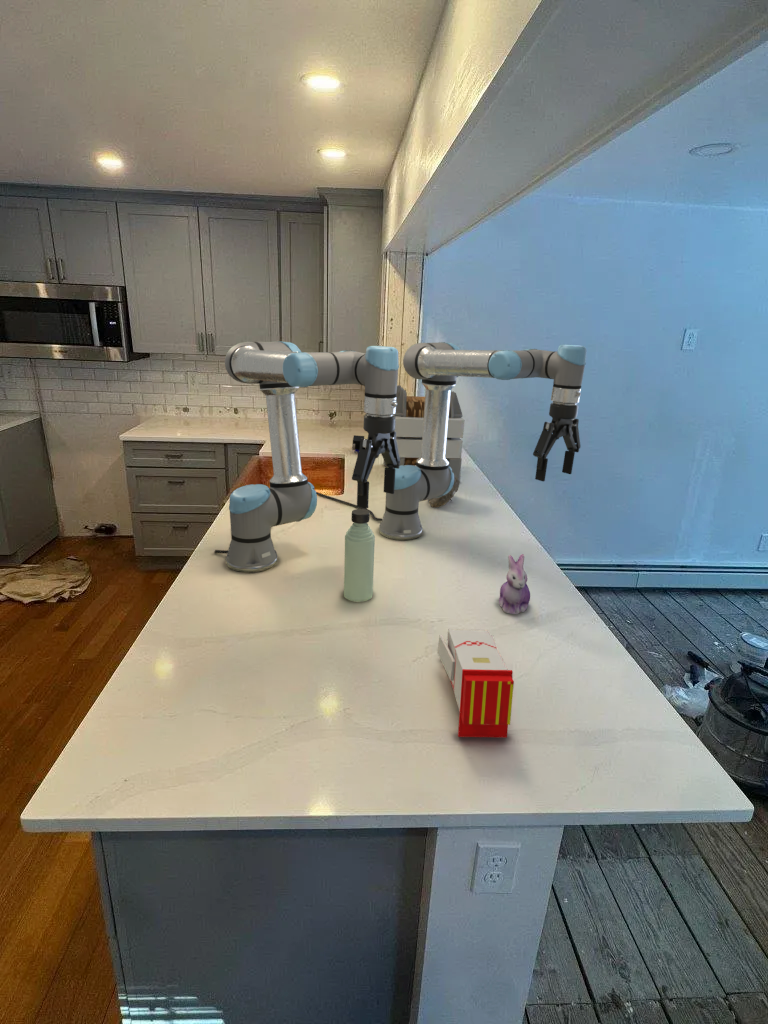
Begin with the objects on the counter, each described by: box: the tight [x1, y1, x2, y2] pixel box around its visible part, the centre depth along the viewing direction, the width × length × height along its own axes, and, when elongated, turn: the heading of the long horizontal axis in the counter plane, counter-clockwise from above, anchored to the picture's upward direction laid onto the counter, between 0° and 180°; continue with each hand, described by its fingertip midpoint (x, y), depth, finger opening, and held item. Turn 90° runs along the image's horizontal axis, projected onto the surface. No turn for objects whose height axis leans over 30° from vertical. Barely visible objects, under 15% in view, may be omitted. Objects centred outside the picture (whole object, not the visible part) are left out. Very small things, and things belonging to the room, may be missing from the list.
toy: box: [437, 628, 515, 738], centre depth 117 cm, size 12×13×30 cm
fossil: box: [428, 476, 460, 509], centre depth 235 cm, size 22×10×15 cm
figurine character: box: [351, 435, 365, 454], centre depth 310 cm, size 7×8×15 cm
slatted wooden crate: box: [383, 384, 465, 483], centre depth 268 cm, size 34×33×41 cm
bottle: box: [343, 522, 376, 603], centre depth 152 cm, size 8×8×24 cm
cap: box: [351, 508, 371, 524], centre depth 148 cm, size 5×5×2 cm
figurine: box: [498, 553, 531, 615], centre depth 151 cm, size 9×10×15 cm
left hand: (376, 499), depth 141 cm, fingers open, 13 cm apart
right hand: (553, 476), depth 165 cm, fingers open, 13 cm apart
